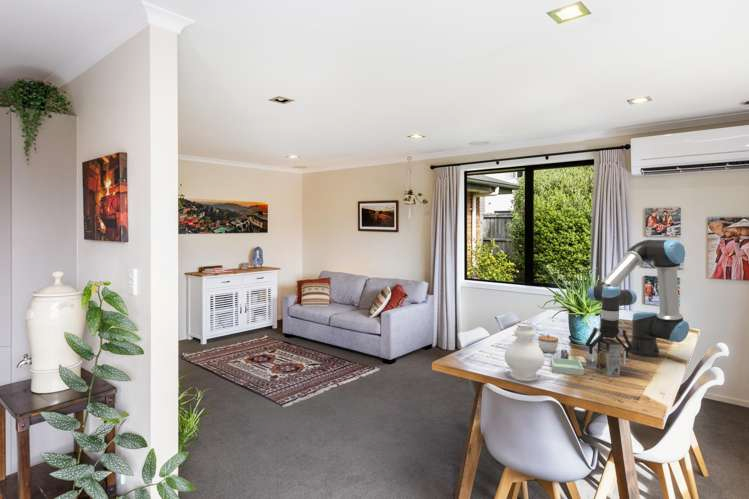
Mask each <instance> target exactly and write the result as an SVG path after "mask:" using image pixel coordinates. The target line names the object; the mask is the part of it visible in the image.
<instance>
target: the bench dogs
mask: <svg viewBox="0 0 749 499" xmlns="http://www.w3.org/2000/svg"><path fill="white" fill-rule="evenodd" d="M569 356H570V355H569V353H568V350H567V349H561V350H560V359H568V358H569Z"/></svg>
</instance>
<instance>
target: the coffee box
mask: <svg viewBox="0 0 749 499" xmlns="http://www.w3.org/2000/svg"><path fill="white" fill-rule="evenodd" d="M596 351H597V355H596V356H597V357H596V371H598V372H599V373H601V374H602V375H605V377H620V376H621V375H620V372H621V370H620V369H621V353H622V345H621V343H619V342H618V341H617V340H615V339H611V338H605V337H604V338H603V339H601V340H600V341H599V342H598V343H597V350H596Z"/></svg>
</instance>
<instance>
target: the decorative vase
mask: <svg viewBox="0 0 749 499" xmlns="http://www.w3.org/2000/svg"><path fill="white" fill-rule="evenodd" d="M533 328H534V324H533V323H530V322H517V323H516V328H515V330H514V332H513V333H514V335H515V336H516V337H517V338H516V339H515V340H513V341H512V342H511V343H510V344H509V345H508V346H507V348H506V349H505V352H504V360H505V362H506V364H507V366H508V367H509V368H510V370H511V372H510V373H509V376H510V377H511V378H512V379H514V380H517V381H520V382H521V381H523V382H535V381H537V380H538V379H539V376H538V375H537V374H536V373H537V372H539V370H540V369H542V368H543V366H544V364H545V360H546V359H545V354H544V352H543V351H542V350H541V349H540V347H539V344H538V343H536V341H534V340H533V338H535V336H536V330H534V329H533Z"/></svg>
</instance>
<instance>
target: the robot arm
mask: <svg viewBox="0 0 749 499" xmlns="http://www.w3.org/2000/svg"><path fill="white" fill-rule="evenodd" d="M685 257H686V249H685V247H684V245H683V243H681V242H680V241H679V240H671V239H644V240H642V241H640V242H639V241H638V242H637V243H635V244H634V245H632V246H631V247H629V249H627V250H626V252H625V253H624V254H623V258H622V259H621V260H620V261H618V263H617V264H616V265H615V267H614V268H612V269H611V271H610V272H609V273H608V274H606V276H605V277H604V278H603V279H602V280H601V281H600V282H599V283H598V284H597V285H590V286H588V289H587V292H586V294H587V297H588V299H590V300H592V301H595V302H601V314H600V316H601V317H600V318H601V319H600V327H599V328H597V327H596V326H594V327H593V328H592V332H591V334H590V335H589V337H588V338H587V340H586V342H585V343H584V345H585V346H586V347H587V348H589V350H588V352H589V355H590V356H591V357H590V358H591V359H590V361H591V362H595V346H596V345H598V342H599V341H600V340H601V339H603V338H606V339H609V338H610V339H612V340H614V339H615V340H616V341H617V342H619V343H621V347H622V348H623V349H622V358H621V359H622V364H623V365H626V363H627V362H626V361H627V360H626V358H629V354H632V355H635V356H638V355H639V357H644V356H646V357H645V358H656V357H657V356H658V357H659V356H660V352H661V351H660V348H659V346H658V342H657V339H661V340H666V341H669V342H673V343H681V342H683V341H685V339H686V338H687V336H688V334H689V332H690V324H689V322H688V321H686V320H684V316H683V314H681V313H680V302H679V301H680V300H679V299H680V298H679V282H678V268H680V266H681V264H682V263H684V261H685ZM646 262H652V263H653V267H654V268H655V269H656V271H657V272H656V273H657V288H658V303H659V304H658V305H659V312H658V313H657V312H654V311H653V312H651V311H650V312H648V311H646V312H644V311H643V312H635V313H633V315H632V319H631V322H632V325H631V327H632V330H631V331H632V332H631V333H632V334H631V339H629V338H628V335H627V331H626V330H625V329H624V328H623V329H619V326H620V325H619V324H620V323H619V321H620V319H619V317H620V306H630V305H634V304H635V303H636V302H637V298H638V295H637V293H636V292H635V291H634V290H632V289H628V288H627V289H620V287H619V286H620V285H621V284H622V283H623V282H624V280H626V278H627V277H628V276H629V275H630V274H631V273H632V272H633V271H634V270H635V268H636V267H638V266H639V267H640V266H641V265H642V264H644V263H646ZM599 332H600V334H599V335H598V336H597V337H596V338H595V336H596V335H597V334H598V333H599ZM619 334H621V335H622V337H623V339H624V341H625V343H626V345H627V346H626V345H625V343H624V342H623V341H622V340H621V339H620V337H619V336H618V335H619ZM594 338H595V339H594ZM593 339H594V340H593ZM647 356H648V357H647Z"/></svg>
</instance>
